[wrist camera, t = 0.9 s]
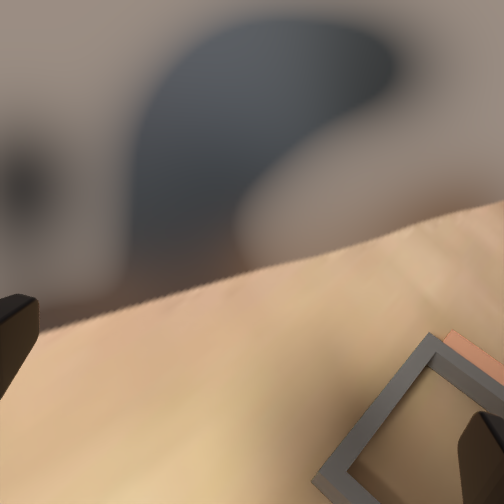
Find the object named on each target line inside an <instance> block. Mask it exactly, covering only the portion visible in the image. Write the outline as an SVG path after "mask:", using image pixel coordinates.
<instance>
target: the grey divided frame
mask: <svg viewBox="0 0 504 504" xmlns="http://www.w3.org/2000/svg"><path fill="white" fill-rule="evenodd" d="M426 365H428V366H429V367H430V368H431V369H433V370H434V371H435V372H437V373H438V374H439V375H441V376H442V377H443V378H445V379H446V380H447V381H449V382H450V383H451V384H453V385H454V386H455V387H457V388H458V389H459V390H461V391H462V392H463V393H465V394H466V395H467V396H469V397H470V398H471V399H473V400H474V401H475V402H477V403H478V404H479V405H481V406H482V407H483V408H484V409H486V410H487V411H488V412H490V413H492V414H496V415H498V416H500V417H502V418H503V419H504V365H503V364H501V363H500V362H498V361H497V360H495V359H494V358H493V357H491V356H490V355H488V354H487V353H485V352H484V351H483V350H481V349H480V348H478V347H477V346H476V345H474V344H473V343H471V342H470V341H468V340H467V339H466V338H464V337H463V336H461V335H460V334H458V333H457V332H456V331H454V330H453V329H452V330H451V331H450V332H449V334H448V335H447V336H446V338H445V339H444V340H443V342H442V341H441V340H439V339H438V338H436V337H435V336H434V335H432V334H431V333H428V334H427V335H426V336H425V338H424V339H423V340H422V341H421V343H420V344H419V345H418V346H417V348H416V349H415V350H414V352H413V353H412V354H411V355H410V357H409V358H408V359H407V360H406V362H405V363H404V364H403V365H402V367H401V368H400V369H399V370H398V372H397V373H396V374H395V375H394V377H393V378H392V379H391V380H390V382H389V383H388V384H387V385H386V387H385V388H384V389H383V390H382V392H381V393H380V394H379V396H378V397H377V398H376V399H375V401H374V402H373V403H372V404H371V406H370V407H369V408H368V409H367V411H366V412H365V413H364V414H363V416H362V417H361V418H360V419H359V421H358V422H357V423H356V424H355V426H354V427H353V428H352V429H351V431H350V432H349V433H348V434H347V436H346V437H345V438H344V439H343V441H342V442H341V443H340V445H339V446H338V447H337V448H336V450H335V451H334V452H333V453H332V455H331V456H330V457H329V458H328V460H327V461H326V462H325V463H324V465H323V466H322V467H321V468H320V470H319V471H318V472H317V474H316V475H315V476H314V478H313V479H312V481H311V482H312V483H313V484H314V485H315V486H316V487H317V488H318V489H319V490H320V491H321V492H322V493H323V494H324V495H325V496H326V497H327V498H328V499H329V500H330V501H331V502H332V503H333V504H381V503H380V502H379V501H378V500H376V499H375V498H374V497H373V496H372V495H371V494H370V493H369V492H368V491H367V490H366V489H365V488H364V487H362V486H361V485H360V484H359V483H358V482H357V481H356V480H355V479H354V478H353V477H352V476H351V475H350V474H348V473H347V472H346V471H347V470H348V469H349V467H350V466H351V465H352V463H353V462H354V461H355V459H356V458H357V457H358V455H359V454H360V453H361V451H362V450H363V449H364V447H365V446H366V445H367V443H368V442H369V441H370V439H371V438H372V437H373V435H374V434H375V433H376V431H377V430H378V428H379V427H380V426H381V424H382V423H383V422H384V420H385V419H386V418H387V416H388V415H389V414H390V412H391V411H392V410H393V408H394V407H395V406H396V404H397V403H398V402H399V400H400V399H401V398H402V396H403V395H404V394H405V392H406V391H407V390H408V388H409V387H410V386H411V384H412V383H413V382H414V380H415V379H416V378H417V376H418V375H419V374H420V372H421V371H422V370H423V368H424V367H425V366H426Z"/></svg>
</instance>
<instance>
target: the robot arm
mask: <svg viewBox="0 0 504 504" xmlns="http://www.w3.org/2000/svg"><path fill="white" fill-rule="evenodd" d="M39 329H40V328H39V302H38V300H37V299H36V298H34V297H30V296H27V295H23V294H14V295H11V296H8V297H5V298H2V299H0V400H1V398H2V397H3V395H4V394H5V392H6V390H7V389H8V387H9V385H10V384H11V382H12V381H13V379H14V377H15V376H16V374H17V372H18V371H19V369H20V367H21V366H22V364H23V362H24V361H25V359H26V358H27V356H28V354H29V353H30V351H31V349H32V348H33V346H34V344H35V343H36V341H37V339H38V336H39ZM458 459H459V468H460V478H461V487H462V496H463V504H504V419H503V418H502V417H500V416H498V415H496V414H492V413H488V412H484V411H478V412H476V413H475V414H474V415H473V416H472V418H471V420H470V421H469V423H468V425H467V427H466V428H465V430H464V432H463V433H462V435H461V437H460V439H459V442H458Z"/></svg>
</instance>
